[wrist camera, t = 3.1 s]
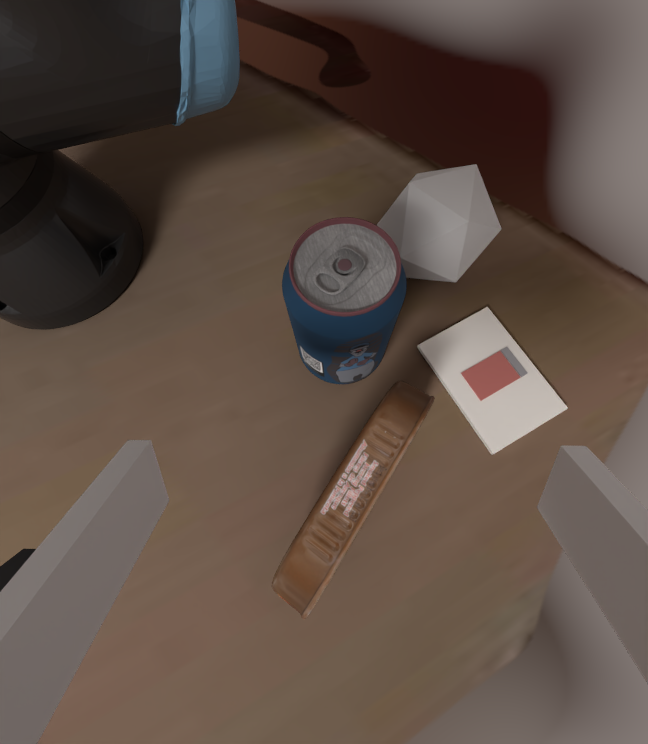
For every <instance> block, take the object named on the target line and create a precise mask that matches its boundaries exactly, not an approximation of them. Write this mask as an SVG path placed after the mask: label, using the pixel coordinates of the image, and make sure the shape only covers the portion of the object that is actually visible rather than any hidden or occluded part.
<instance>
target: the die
mask: <svg viewBox="0 0 648 744" xmlns="http://www.w3.org/2000/svg"><path fill="white" fill-rule="evenodd" d="M377 226H378V227H380V228H381V229H383V230H384V231H385V232H386V233H387V234H388V235H389V236H390V237H391V238H392V240H393V241H394V243H395V244H396V246H397V248H398V251H399V254H400V258H401V263H402V265H403V268H404V271H405V275H406V278H416V279H426V280H436V281H446V282H457V281H458V280H459V278H460V277H461V276H462V275H463V274H464V273H465V271H466V270H467V269H468V268H469V267H470V266H471V264H472V263H473V262H474V261H475V260H476V259H477V257H478V256H479V255H480V254H481V253H482V251H483V250H484V249H485V248H486V247H487V246H488V244H489V243H490V242H491V241H492V240H493V239H494V237H495V236H496V235H497V234H498V233H499V232H500V230H501V226H500V224H499V221H498V219H497V216H496V213H495V211H494V208H493V206H492V203H491V201H490V198H489V195H488V193H487V190H486V188H485V185H484V182H483V180H482V177H481V175H480V172H479V170H478V167H477V164H474V165H468V166H462V167H455V168H449V169H443V170H437V171H430V172H424V173H418V174H416V175H415V176H414V178H413V179H412V180H411V181H410V182H409V183H408V185H407V186H406V187H405V189H404V190H403V191H402V193H401V194H400V195H399V196H398V198H397V199H396V200H395V202H394V203H393V204H392V206H391V207H390V208H389V209H388V211H387V212H386V213H385V215H384V216H383V217H382V219H381V220H380V221H379V222H378V224H377Z"/></svg>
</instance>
